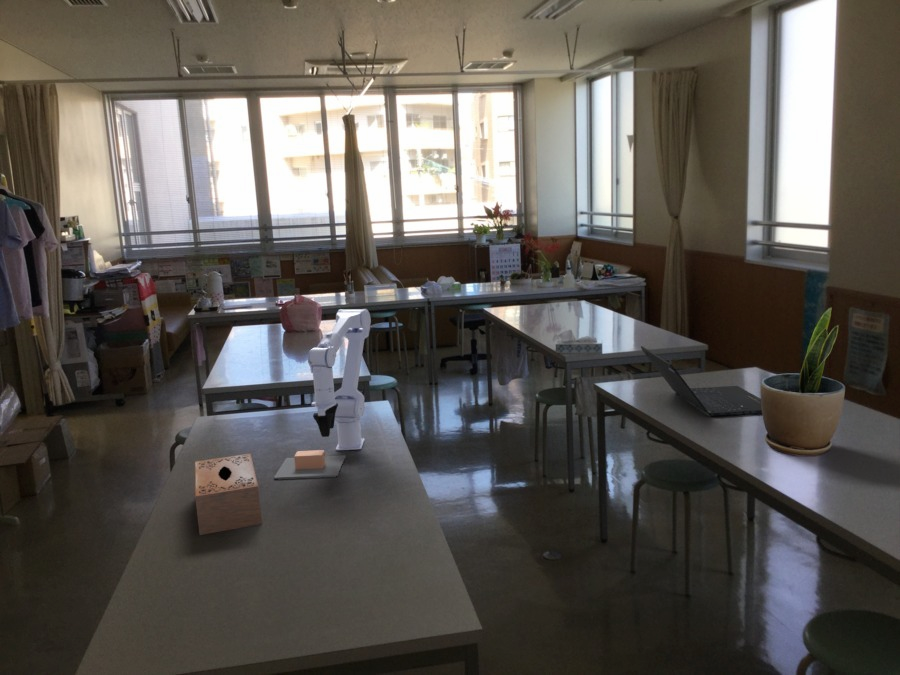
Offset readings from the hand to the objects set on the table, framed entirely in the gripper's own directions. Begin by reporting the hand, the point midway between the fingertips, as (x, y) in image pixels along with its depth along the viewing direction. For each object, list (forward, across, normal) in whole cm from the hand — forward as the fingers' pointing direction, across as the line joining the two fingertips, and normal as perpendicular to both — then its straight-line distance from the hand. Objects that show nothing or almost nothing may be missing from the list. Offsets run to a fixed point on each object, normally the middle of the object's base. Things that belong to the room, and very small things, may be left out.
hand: (327, 432), depth 217 cm
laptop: (+10, -43, +126) cm, 134 cm away
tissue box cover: (+10, +31, -21) cm, 39 cm away
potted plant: (+10, +5, +137) cm, 137 cm away
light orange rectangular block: (+9, +4, -5) cm, 11 cm away
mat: (+9, +4, -5) cm, 11 cm away
